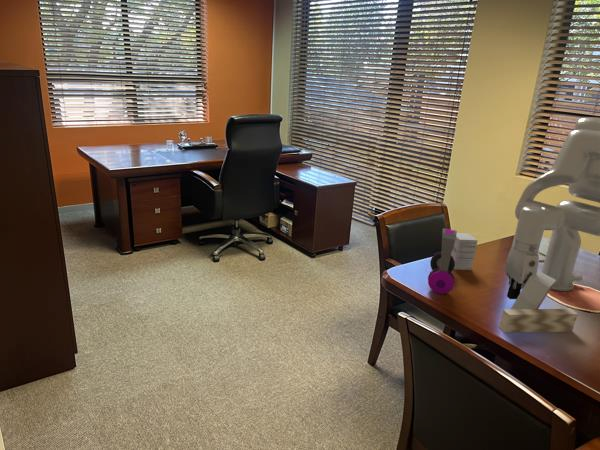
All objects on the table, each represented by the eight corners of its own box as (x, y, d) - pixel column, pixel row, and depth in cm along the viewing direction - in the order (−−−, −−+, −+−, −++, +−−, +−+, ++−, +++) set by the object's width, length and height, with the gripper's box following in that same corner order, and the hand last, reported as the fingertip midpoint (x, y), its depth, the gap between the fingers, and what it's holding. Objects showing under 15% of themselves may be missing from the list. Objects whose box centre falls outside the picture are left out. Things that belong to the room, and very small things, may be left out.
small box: (529, 321, 138) (550, 288, 132) (509, 309, 141) (529, 276, 135) (536, 312, 144) (556, 279, 138) (517, 301, 147) (536, 269, 141)
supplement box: (446, 261, 178) (451, 232, 174) (463, 262, 179) (469, 232, 174) (453, 269, 171) (459, 239, 167) (471, 270, 172) (478, 239, 167)
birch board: (565, 325, 137) (570, 308, 134) (572, 331, 134) (577, 314, 132) (498, 326, 134) (503, 309, 132) (504, 332, 131) (508, 314, 129)
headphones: (452, 298, 149) (463, 242, 142) (425, 292, 152) (434, 238, 145) (452, 273, 168) (462, 223, 161) (428, 269, 170) (437, 219, 164)
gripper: (552, 255, 132) (537, 309, 138) (522, 237, 146) (510, 287, 152) (528, 255, 131) (514, 309, 137) (501, 237, 145) (489, 287, 151)
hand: (512, 297), depth 145 cm, fingers closed
